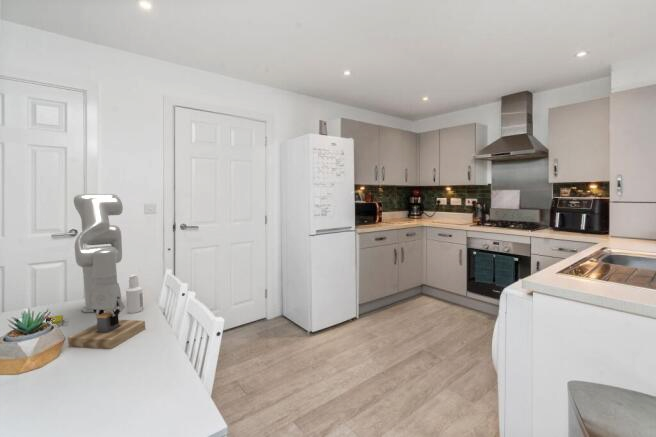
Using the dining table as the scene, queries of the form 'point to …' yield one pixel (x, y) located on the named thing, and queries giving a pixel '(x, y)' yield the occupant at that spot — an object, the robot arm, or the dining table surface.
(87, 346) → the socket block
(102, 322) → the key peg
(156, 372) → the dining table surface
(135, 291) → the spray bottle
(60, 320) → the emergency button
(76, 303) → the dining table surface
